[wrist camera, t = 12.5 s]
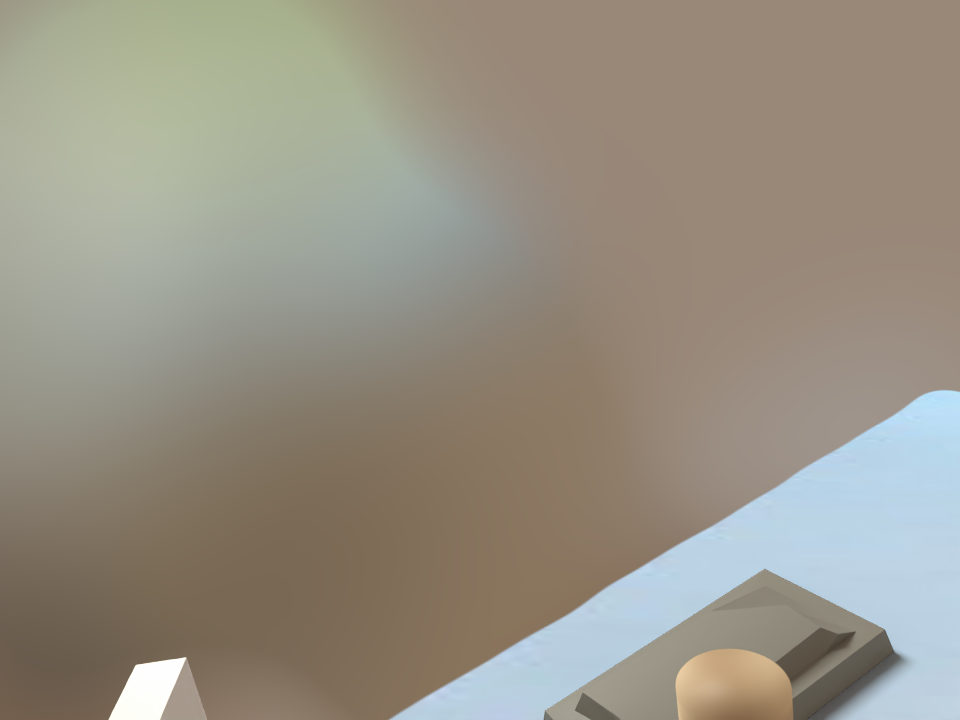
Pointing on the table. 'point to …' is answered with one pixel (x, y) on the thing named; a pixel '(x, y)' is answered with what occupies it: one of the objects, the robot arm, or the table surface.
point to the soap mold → (746, 626)
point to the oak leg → (733, 687)
